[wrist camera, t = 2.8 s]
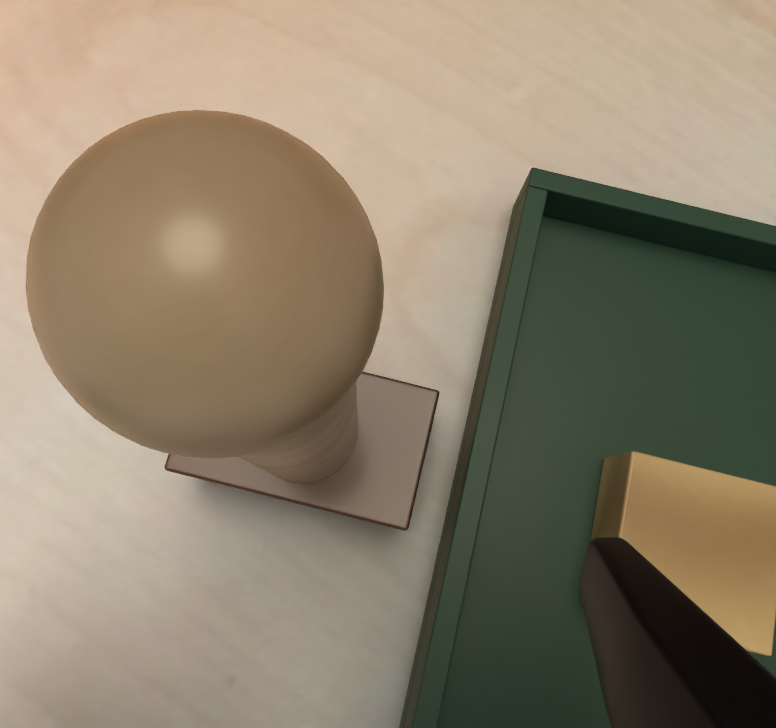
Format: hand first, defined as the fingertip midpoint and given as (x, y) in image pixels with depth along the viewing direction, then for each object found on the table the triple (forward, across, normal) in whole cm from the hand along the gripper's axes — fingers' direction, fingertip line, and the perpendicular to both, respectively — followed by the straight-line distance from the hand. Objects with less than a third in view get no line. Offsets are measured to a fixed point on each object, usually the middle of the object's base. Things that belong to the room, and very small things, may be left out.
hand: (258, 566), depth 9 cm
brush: (+9, 0, +5) cm, 10 cm away
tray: (+7, -10, +7) cm, 14 cm away
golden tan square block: (+6, -10, +7) cm, 13 cm away
